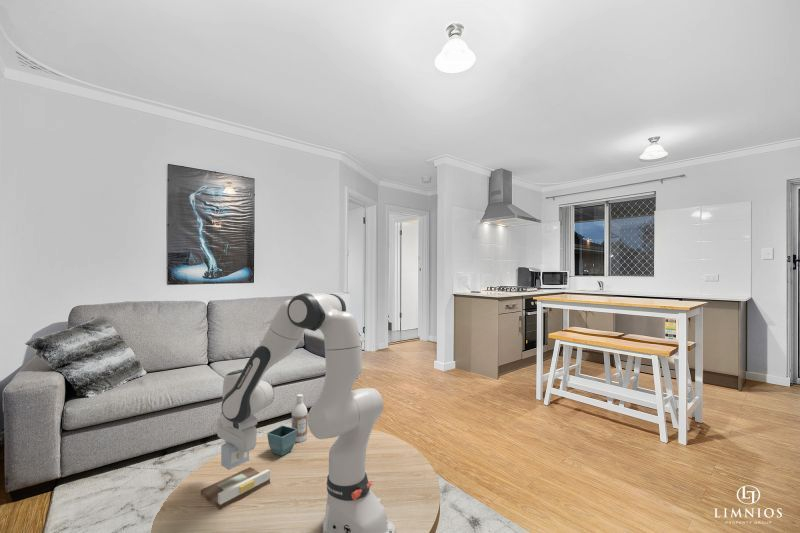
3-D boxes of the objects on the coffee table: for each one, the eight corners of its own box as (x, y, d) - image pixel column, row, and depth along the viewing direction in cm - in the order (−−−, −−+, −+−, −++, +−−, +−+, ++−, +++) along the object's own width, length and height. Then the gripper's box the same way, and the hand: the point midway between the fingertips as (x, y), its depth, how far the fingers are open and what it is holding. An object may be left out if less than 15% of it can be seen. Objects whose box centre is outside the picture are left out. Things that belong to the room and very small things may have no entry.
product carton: (249, 460, 128) (249, 441, 128) (228, 470, 122) (229, 449, 122) (241, 456, 131) (241, 437, 131) (221, 465, 125) (221, 444, 125)
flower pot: (266, 454, 149) (266, 432, 149) (282, 445, 157) (282, 424, 157) (281, 459, 145) (282, 437, 145) (297, 450, 153) (297, 429, 153)
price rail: (271, 479, 129) (271, 471, 129) (221, 505, 114) (221, 495, 114) (267, 477, 130) (267, 469, 130) (217, 502, 116) (217, 493, 116)
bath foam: (294, 444, 158) (294, 398, 159) (289, 438, 164) (289, 394, 164) (309, 440, 162) (309, 395, 162) (304, 434, 168) (304, 391, 168)
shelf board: (270, 483, 129) (270, 478, 129) (220, 509, 115) (220, 504, 115) (249, 471, 137) (250, 466, 137) (200, 494, 122) (200, 489, 122)
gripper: (212, 411, 130) (211, 450, 130) (242, 427, 118) (242, 469, 118) (229, 406, 136) (228, 443, 135) (260, 420, 123) (259, 461, 123)
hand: (235, 455), depth 127 cm, fingers closed on product carton, 5 cm apart
